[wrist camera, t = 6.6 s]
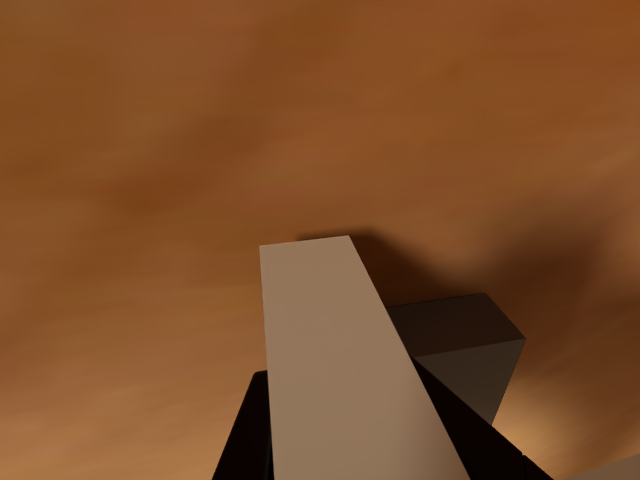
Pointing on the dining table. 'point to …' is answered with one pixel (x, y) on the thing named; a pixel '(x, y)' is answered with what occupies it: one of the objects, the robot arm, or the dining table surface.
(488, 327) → the block
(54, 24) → the dining table surface
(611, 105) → the dining table surface
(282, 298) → the plug
